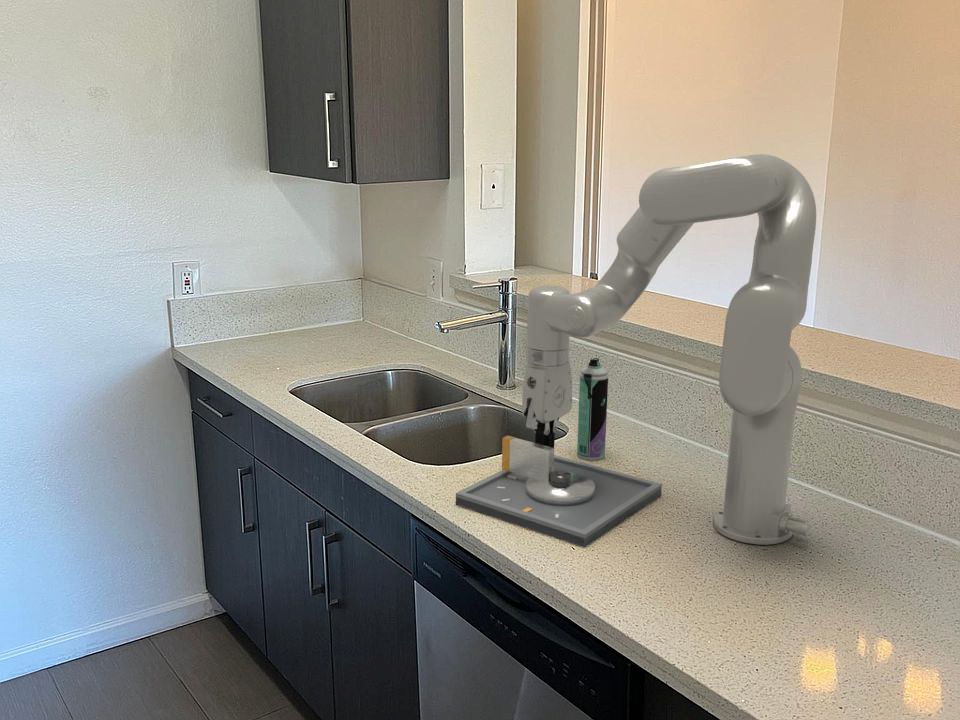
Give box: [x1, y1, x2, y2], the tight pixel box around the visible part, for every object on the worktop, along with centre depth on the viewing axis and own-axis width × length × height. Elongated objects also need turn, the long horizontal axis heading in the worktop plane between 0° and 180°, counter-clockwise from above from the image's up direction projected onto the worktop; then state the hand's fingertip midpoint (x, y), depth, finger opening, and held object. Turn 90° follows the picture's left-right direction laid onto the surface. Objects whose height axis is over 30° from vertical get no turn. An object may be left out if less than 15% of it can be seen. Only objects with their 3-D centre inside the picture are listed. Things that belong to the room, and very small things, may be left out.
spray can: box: [576, 357, 609, 462], centre depth 180 cm, size 6×6×20 cm
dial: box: [501, 435, 595, 506], centre depth 162 cm, size 18×12×8 cm, turn 52°
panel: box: [455, 454, 663, 548], centre depth 161 cm, size 26×26×2 cm
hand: (544, 452), depth 168 cm, fingers closed
